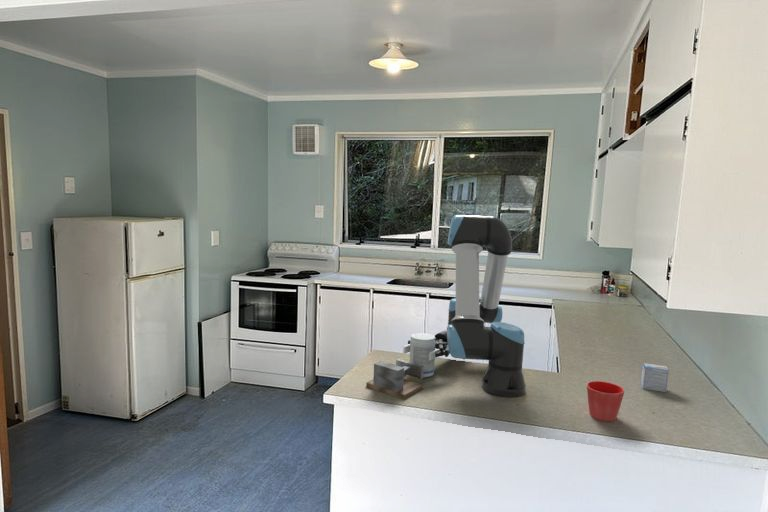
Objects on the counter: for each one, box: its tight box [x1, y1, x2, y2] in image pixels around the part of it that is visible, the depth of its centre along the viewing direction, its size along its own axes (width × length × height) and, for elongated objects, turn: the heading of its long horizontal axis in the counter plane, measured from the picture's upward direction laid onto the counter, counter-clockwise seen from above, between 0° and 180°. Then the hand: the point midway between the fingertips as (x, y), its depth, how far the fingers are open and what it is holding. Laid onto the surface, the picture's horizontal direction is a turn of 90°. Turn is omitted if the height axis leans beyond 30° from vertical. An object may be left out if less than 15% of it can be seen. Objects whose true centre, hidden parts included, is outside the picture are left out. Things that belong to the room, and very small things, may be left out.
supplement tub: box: [409, 332, 436, 378], centre depth 182 cm, size 10×10×15 cm
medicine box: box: [640, 363, 670, 393], centre depth 177 cm, size 8×4×9 cm, turn 71°
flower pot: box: [586, 380, 625, 422], centre depth 152 cm, size 11×11×10 cm
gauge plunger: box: [388, 358, 424, 380], centre depth 174 cm, size 12×6×4 cm, turn 54°
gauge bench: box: [365, 360, 424, 400], centre depth 168 cm, size 16×12×9 cm
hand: (416, 353), depth 179 cm, fingers open, 10 cm apart
